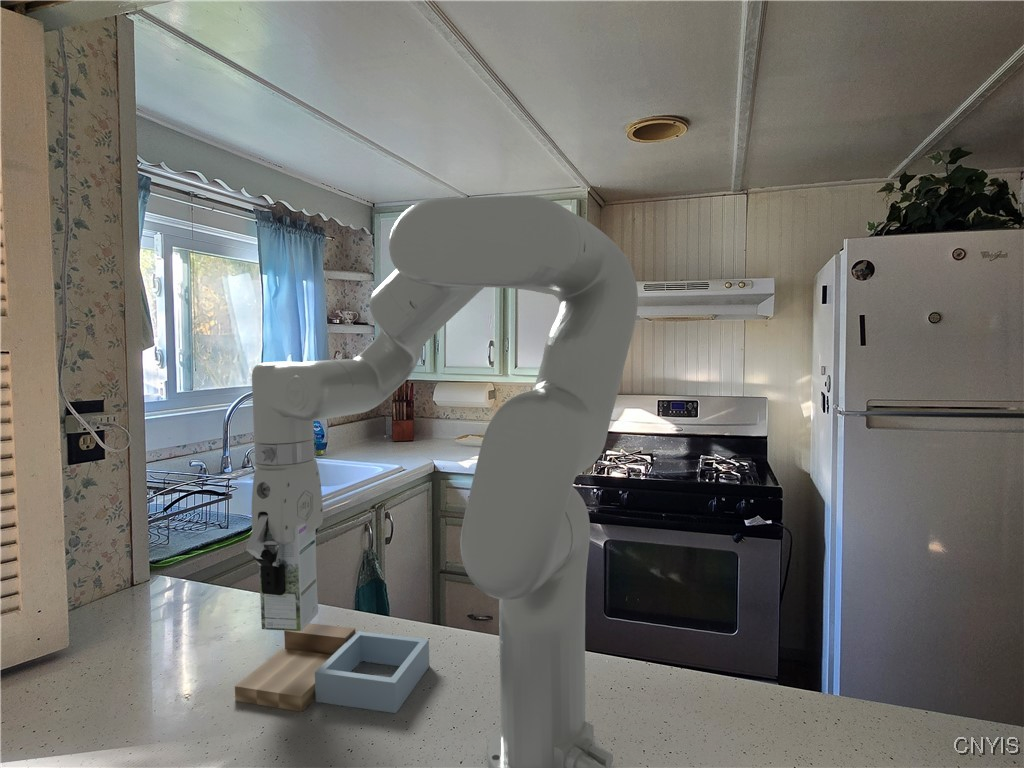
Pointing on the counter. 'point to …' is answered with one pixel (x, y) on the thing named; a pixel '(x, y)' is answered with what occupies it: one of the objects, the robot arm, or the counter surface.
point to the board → (283, 680)
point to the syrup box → (293, 586)
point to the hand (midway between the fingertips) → (289, 582)
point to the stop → (318, 638)
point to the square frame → (372, 690)
